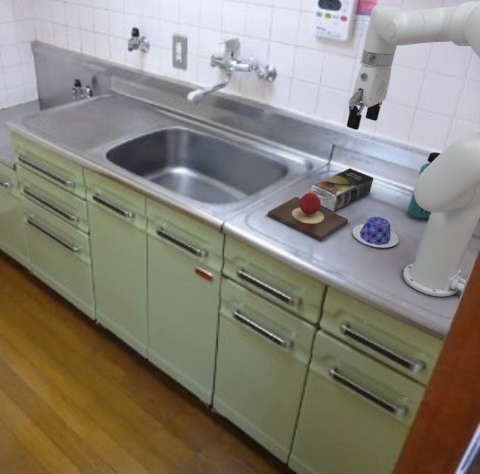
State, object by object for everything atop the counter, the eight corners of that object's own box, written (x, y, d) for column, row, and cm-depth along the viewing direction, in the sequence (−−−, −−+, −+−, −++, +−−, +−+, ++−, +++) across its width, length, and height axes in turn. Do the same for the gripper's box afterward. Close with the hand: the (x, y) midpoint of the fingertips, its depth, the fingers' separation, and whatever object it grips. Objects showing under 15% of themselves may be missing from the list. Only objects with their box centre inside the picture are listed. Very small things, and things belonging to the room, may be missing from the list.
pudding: (344, 237, 146) (348, 221, 143) (364, 221, 153) (368, 205, 151) (386, 255, 139) (391, 238, 136) (404, 237, 147) (410, 221, 144)
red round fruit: (318, 221, 150) (323, 196, 146) (297, 219, 151) (302, 194, 147) (317, 211, 155) (322, 187, 150) (297, 209, 156) (301, 184, 151)
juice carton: (332, 213, 157) (336, 195, 153) (305, 201, 163) (308, 183, 160) (371, 194, 167) (375, 177, 164) (344, 183, 174) (348, 166, 170)
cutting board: (347, 223, 152) (348, 218, 152) (320, 241, 144) (321, 236, 144) (295, 200, 163) (295, 196, 162) (267, 216, 155) (268, 211, 154)
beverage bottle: (415, 224, 153) (436, 160, 142) (401, 212, 158) (419, 150, 147) (434, 221, 154) (456, 158, 143) (419, 210, 160) (439, 148, 149)
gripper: (373, 67, 124) (358, 136, 134) (407, 55, 134) (390, 119, 144) (345, 61, 129) (331, 127, 138) (380, 49, 139) (365, 112, 148)
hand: (361, 123), depth 141 cm, fingers open, 9 cm apart
